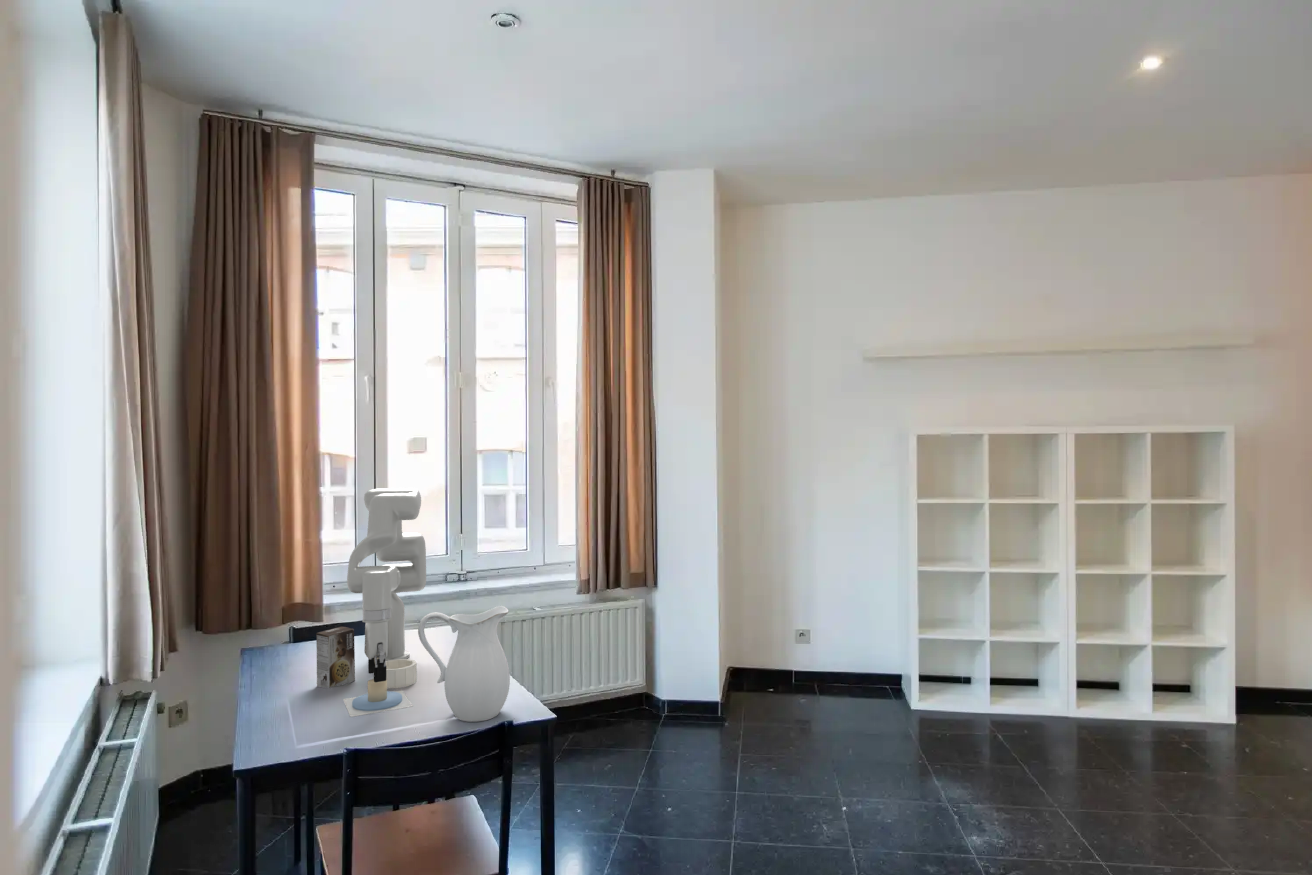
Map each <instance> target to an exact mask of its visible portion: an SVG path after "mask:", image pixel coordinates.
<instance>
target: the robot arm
mask: <svg viewBox="0 0 1312 875" xmlns="http://www.w3.org/2000/svg"><path fill="white" fill-rule="evenodd" d="M421 496H422V495H421V493H420V491H419V489H418V488H415V487H414V488H413V487H408V488H406V487H405V488H404V487H403V488H402V487H399V488H394V487H391V488H389V487H388V488H386V487H385V488H373V489H369V490H367V491H366V492H365V493H364V496H363V501H364V505H365V507H366V509H367V511H368V518H367V519H368V522H367V534H366V536H365V537H364V539H362V540H361V541H360V542H359V543H358V544H357V545H356V546H355V547H354V549H353V551H352V552H351V554H350V557H349V559H348V567H347V576H346V584H347V588H348V590H349V591H350V593H354V594H362V595H361V596H362V623H365V626H364V628H365V629H364V654H365V656H366V657H367V658H368V660H367V662H368V663H367V664H368V665H367V668H368V671H367V672H368V674H370V675H371V674H373V679H374V682H382V681H386V661H389V660H396V659H409V658H410V652H409V651H407V650H405V648H406V646H405V645H406V644H405V643H406V641H405V638H406V636H405V633H406V632H405V629H406V627H405V626H406V625H405V624H406V623H405V620H406V619H405V614H406V612H405V604H404V601H403V600H402V599H401V598H400V596H399V595H398V593H410V592H420V591H422V590H424V589H425V587H426V584H427V559H426V558H427V547H426V541H425V537H424V536H423V534H421V533H418V532H403V524H402V523H403V521H414V520H416V519H417V518H418V517H419V513H420V510H421V506H422V497H421ZM373 554H375V555H376V558H377V560H378V561H380V562H383V563H389V564H382V565H367V566H366V565H363V566H360V565H361V563H362V562H363V561H364V560H365V559H366V558H368V557H370V556H372V555H373ZM396 562H397V563H396ZM401 562H409V563H401Z"/></svg>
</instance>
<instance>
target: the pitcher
mask: <svg viewBox="0 0 1312 875" xmlns="http://www.w3.org/2000/svg"><path fill="white" fill-rule="evenodd" d="M507 614H509V609H508V608H507V607H506V606H504V605H497V606H495V607H492V608H490V609H488V610H486V611H482V612H479V613H475V614H471V613H470V614H469V613H468V614H467V613H457V614H453V615H450V616H449V615H447V614H445V613H442V612H430V613H428V614H426V615H425V616H423V617H422V618H421V620H420V622H419V624H418V628H417V634H418V638H419V641H420V642H421V644H422V646H423V647H424V649H425V650H426V651H427V652H428V653H429V655H430V656H431V657H432V659H433V660H434V661H435V662H436V665H437V666H438V667H439V671H440V675H439V678H438V680H437V682H436V683H437V684H440V683H443V682H444V693H445V699H446V702H447V705H448V706H449V709H450V710H451V712H452V714H453V715H454V717H455V718H456V719H458V720H460V721H462V722H472V723H474V722H476V723H478V722H484V721H487V720H488V721H489V720H492V719H494V718H495V717H497V716H498V715H499V714H500V712H501V710H502V709H503V708H504V705H505V703H506V701H507V698H508V695H509V692H510V691H509V690H510V685H511V683H510V680H511V674H510V668H509V663H508V659H507V657H506V653H505V651H504V649H503V646H502V644H501V641H500V639H499V636H498V625H499V623H500V622H501V621H502V619H503V618H504V617H505V616H506V615H507ZM436 619H437V620H441V621H443V622H445V623H446V624H447V625H449V626H450V628H451V632H452V633H453V634H456V632H457V636H456V641H455V643H454V646H453V648H452V651H451V653H450V656H449V658H448V662H447V665H446V664H445V663H444V661H443V660H442V659H441V658H440V657H439V654H438V653H436V652H435V650H434V649H433V647H432V646H431V644H430V643H429V642H428V639H427V637H426V634H425V627H426V625H427V623H428V622H429V621H431V620H436Z"/></svg>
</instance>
